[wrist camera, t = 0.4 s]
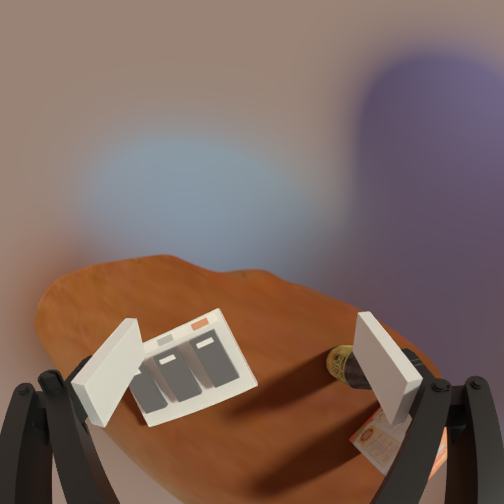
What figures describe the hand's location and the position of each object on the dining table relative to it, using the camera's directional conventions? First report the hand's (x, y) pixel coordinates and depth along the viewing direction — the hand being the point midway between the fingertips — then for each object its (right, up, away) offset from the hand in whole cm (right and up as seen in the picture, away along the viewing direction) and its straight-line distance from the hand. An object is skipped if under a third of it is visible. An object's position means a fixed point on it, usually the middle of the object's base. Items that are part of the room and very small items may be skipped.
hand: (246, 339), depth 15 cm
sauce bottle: (+17, -15, +31) cm, 38 cm away
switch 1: (-18, -18, +26) cm, 37 cm away
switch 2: (-6, -12, +27) cm, 31 cm away
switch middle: (-12, -15, +27) cm, 33 cm away
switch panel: (-12, -17, +31) cm, 37 cm away
